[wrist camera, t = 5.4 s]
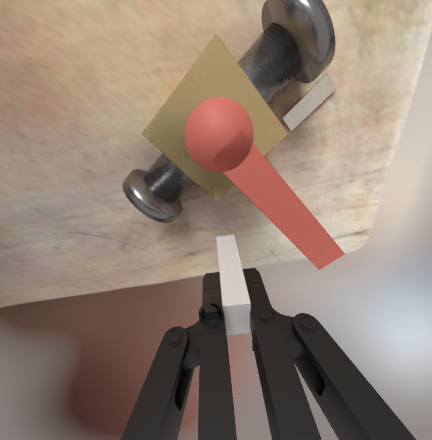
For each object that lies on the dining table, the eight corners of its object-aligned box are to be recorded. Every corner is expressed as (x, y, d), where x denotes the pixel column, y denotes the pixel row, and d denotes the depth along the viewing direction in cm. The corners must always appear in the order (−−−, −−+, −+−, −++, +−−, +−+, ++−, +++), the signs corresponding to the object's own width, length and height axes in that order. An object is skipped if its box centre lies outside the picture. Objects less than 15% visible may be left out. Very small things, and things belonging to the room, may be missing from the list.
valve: (195, 220, 24) (190, 268, 16) (131, 168, 20) (86, 199, 12) (334, 89, 17) (433, 67, 10) (277, -17, 14) (361, -177, 6)
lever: (173, 136, 11) (170, 138, 10) (218, 81, 9) (220, 77, 8) (304, 264, 16) (311, 274, 15) (343, 239, 15) (353, 248, 14)
